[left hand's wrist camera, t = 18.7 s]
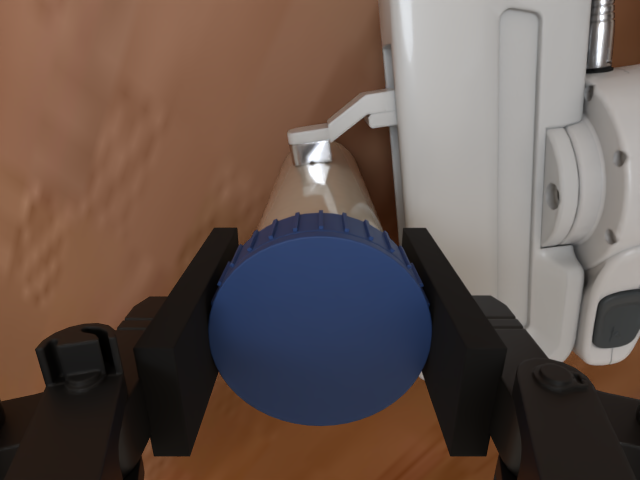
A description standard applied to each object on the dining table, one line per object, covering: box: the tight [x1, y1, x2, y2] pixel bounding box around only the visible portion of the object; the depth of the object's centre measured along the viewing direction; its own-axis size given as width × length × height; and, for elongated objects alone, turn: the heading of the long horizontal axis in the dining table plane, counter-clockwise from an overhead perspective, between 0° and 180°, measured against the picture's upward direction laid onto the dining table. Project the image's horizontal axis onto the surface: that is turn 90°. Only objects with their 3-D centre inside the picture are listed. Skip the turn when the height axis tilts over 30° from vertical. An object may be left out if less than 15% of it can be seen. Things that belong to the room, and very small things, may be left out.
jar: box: [257, 141, 384, 232], centre depth 19 cm, size 5×5×16 cm
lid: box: [208, 210, 432, 426], centre depth 11 cm, size 6×6×2 cm
